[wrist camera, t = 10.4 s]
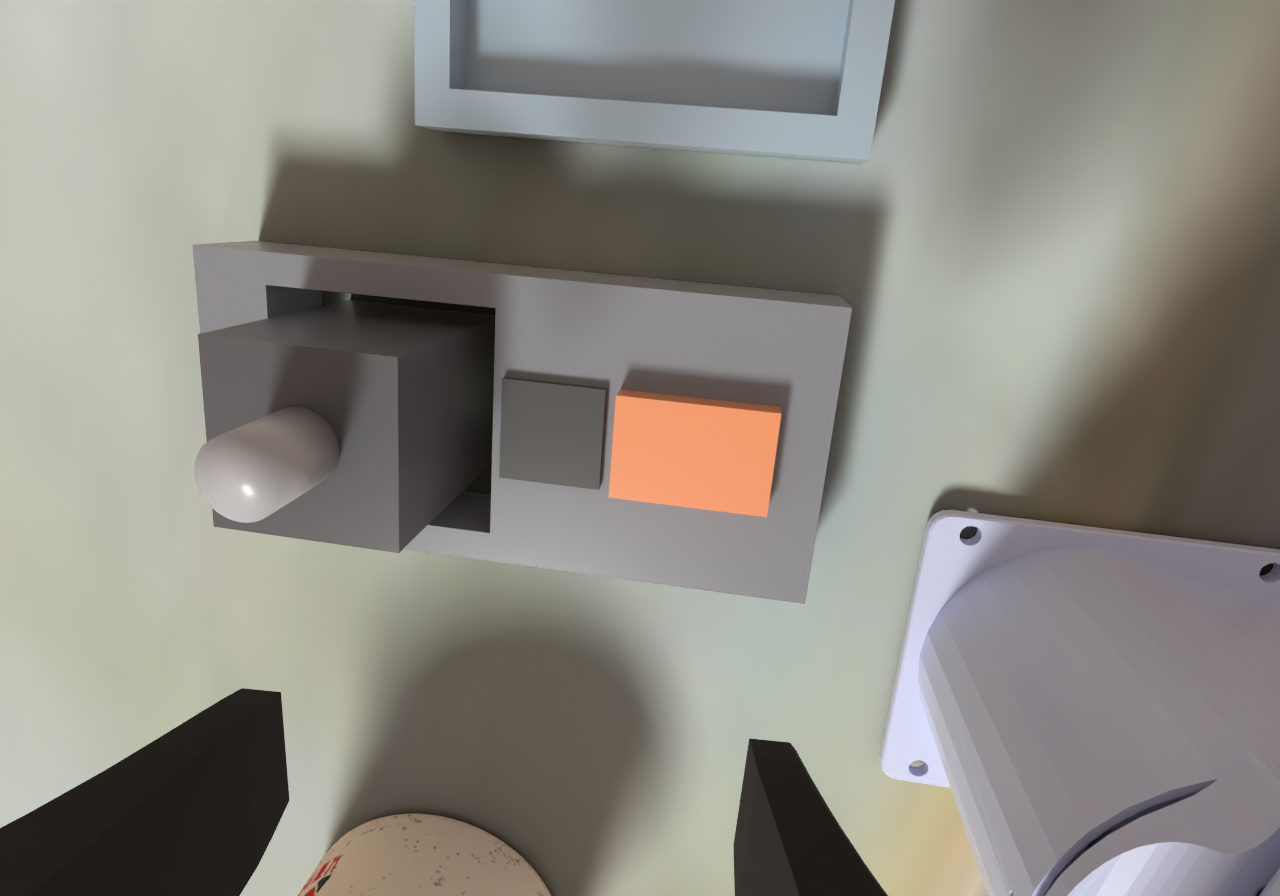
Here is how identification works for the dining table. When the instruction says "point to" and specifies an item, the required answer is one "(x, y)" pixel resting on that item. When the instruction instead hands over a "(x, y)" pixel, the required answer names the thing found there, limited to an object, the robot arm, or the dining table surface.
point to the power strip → (608, 410)
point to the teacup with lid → (422, 861)
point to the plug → (345, 420)
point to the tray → (657, 73)
